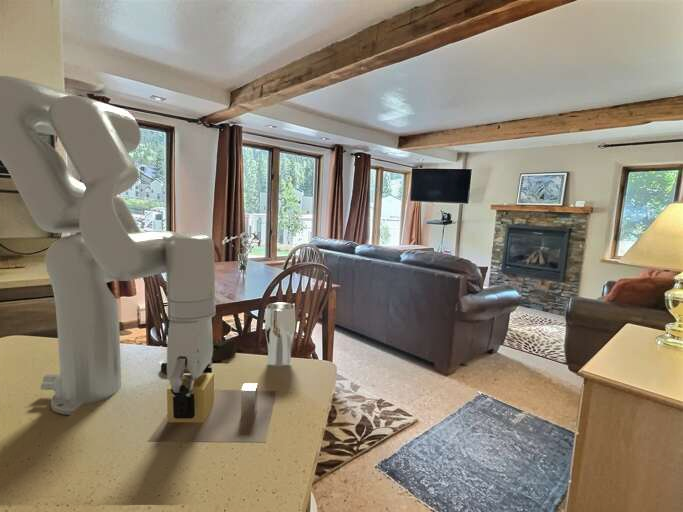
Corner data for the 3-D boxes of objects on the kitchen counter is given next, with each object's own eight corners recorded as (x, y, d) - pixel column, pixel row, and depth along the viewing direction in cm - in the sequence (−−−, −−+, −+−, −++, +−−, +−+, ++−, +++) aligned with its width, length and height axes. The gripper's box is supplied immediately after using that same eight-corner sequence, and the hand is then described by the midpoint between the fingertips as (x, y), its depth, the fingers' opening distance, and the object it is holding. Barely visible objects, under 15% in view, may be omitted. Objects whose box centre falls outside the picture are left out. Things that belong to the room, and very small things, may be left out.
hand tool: (169, 384, 77) (168, 363, 77) (159, 378, 80) (159, 358, 79) (242, 357, 92) (242, 340, 92) (232, 353, 95) (233, 336, 94)
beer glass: (267, 375, 83) (269, 311, 81) (261, 362, 89) (262, 303, 87) (297, 371, 86) (299, 309, 84) (289, 359, 92) (291, 301, 90)
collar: (167, 422, 62) (166, 388, 61) (180, 402, 68) (180, 372, 67) (203, 422, 62) (203, 389, 61) (213, 403, 68) (214, 372, 67)
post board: (147, 450, 57) (146, 411, 56) (185, 396, 73) (184, 365, 72) (264, 450, 58) (265, 412, 57) (276, 397, 74) (277, 367, 73)
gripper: (187, 294, 70) (189, 378, 73) (145, 323, 53) (150, 432, 56) (227, 295, 71) (228, 378, 73) (197, 323, 54) (200, 431, 56)
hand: (194, 401), depth 64 cm, fingers open, 9 cm apart
